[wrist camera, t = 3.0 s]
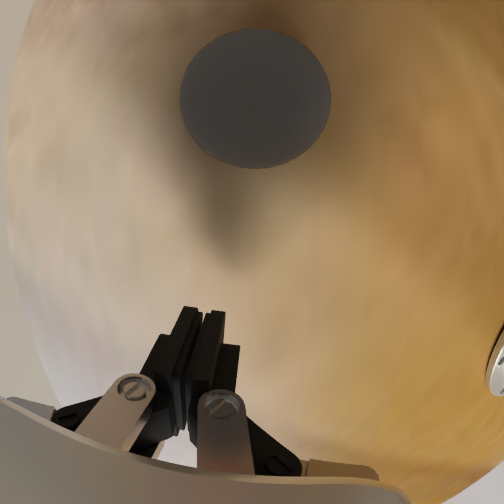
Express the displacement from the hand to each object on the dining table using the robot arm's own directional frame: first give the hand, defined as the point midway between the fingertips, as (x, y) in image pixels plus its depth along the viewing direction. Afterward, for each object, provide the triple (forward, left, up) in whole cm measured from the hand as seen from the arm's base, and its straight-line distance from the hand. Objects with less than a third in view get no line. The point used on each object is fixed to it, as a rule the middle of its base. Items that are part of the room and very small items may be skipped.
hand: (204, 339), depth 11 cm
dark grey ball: (-3, -9, -1) cm, 10 cm away
